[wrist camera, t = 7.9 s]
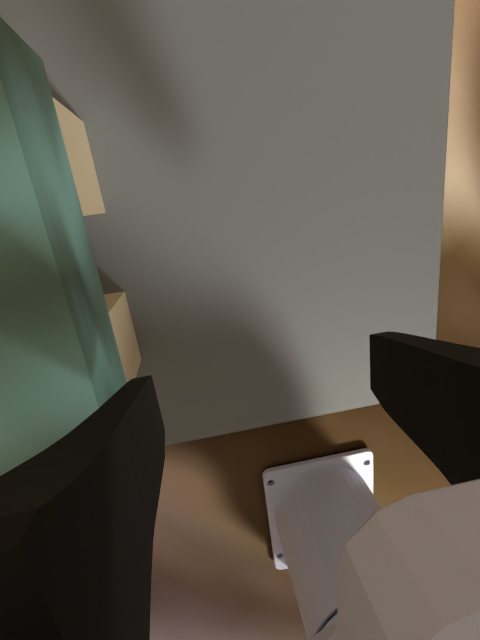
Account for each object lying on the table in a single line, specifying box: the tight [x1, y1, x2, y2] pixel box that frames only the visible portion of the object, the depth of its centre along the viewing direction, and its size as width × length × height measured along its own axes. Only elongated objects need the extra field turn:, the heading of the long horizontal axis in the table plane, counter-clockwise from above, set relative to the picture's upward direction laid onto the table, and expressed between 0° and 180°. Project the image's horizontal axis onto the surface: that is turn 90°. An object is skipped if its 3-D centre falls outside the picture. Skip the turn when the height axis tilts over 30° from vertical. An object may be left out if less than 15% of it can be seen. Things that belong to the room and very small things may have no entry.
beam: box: [0, 17, 127, 476], centre depth 12 cm, size 14×4×4 cm, turn 7°
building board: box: [0, 0, 455, 446], centre depth 17 cm, size 24×26×5 cm
